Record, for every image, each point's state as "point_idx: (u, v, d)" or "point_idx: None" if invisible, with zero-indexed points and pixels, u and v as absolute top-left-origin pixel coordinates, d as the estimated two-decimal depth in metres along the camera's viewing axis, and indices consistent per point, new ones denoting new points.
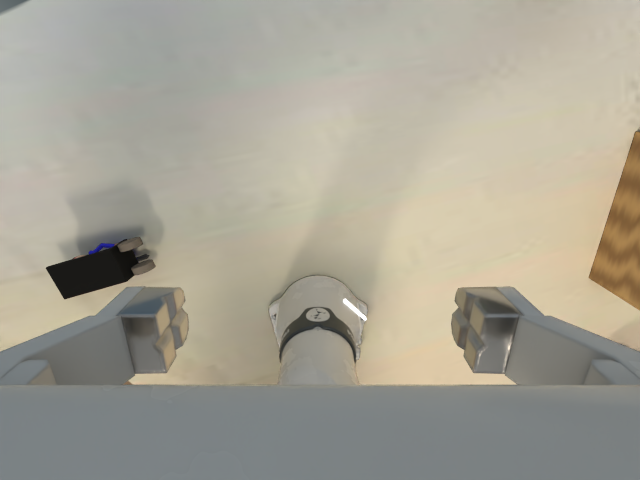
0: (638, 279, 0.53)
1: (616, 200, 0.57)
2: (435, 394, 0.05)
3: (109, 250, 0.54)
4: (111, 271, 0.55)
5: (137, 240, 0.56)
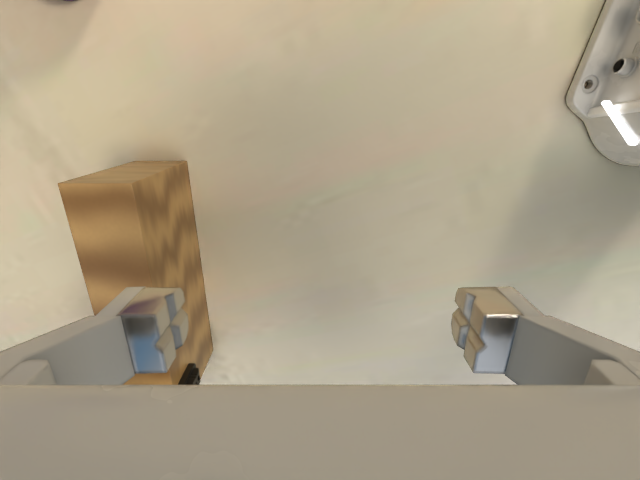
0: (158, 223, 0.31)
1: (202, 281, 0.43)
2: (435, 394, 0.05)
3: None
4: None
5: None
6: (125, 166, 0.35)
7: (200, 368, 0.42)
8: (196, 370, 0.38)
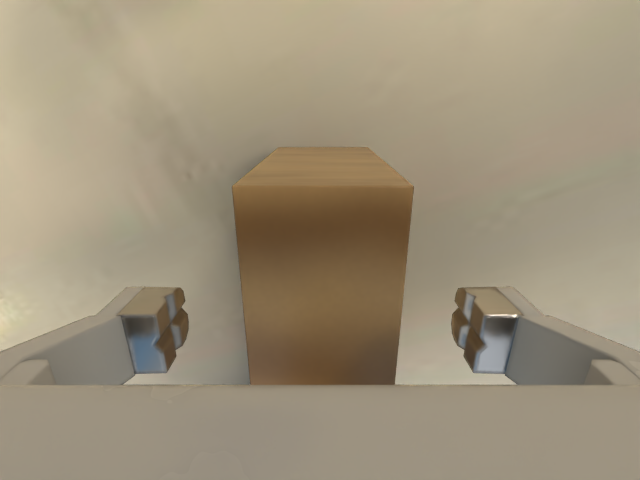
0: None
1: None
2: (435, 394, 0.05)
3: None
4: None
5: None
6: (287, 154, 0.19)
7: None
8: None
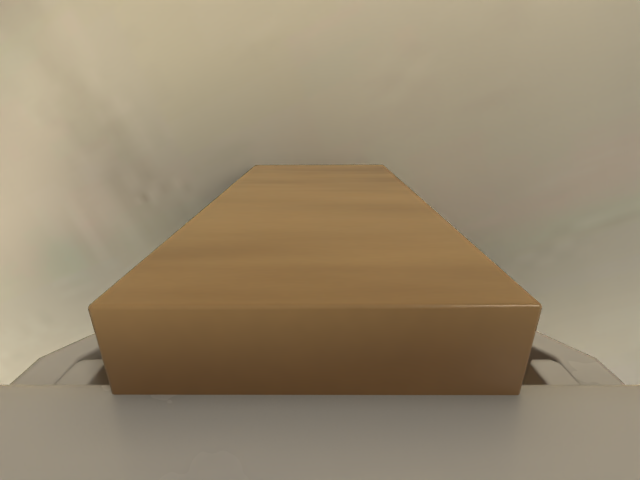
0: None
1: None
2: None
3: None
4: None
5: None
6: (263, 180, 0.12)
7: None
8: None
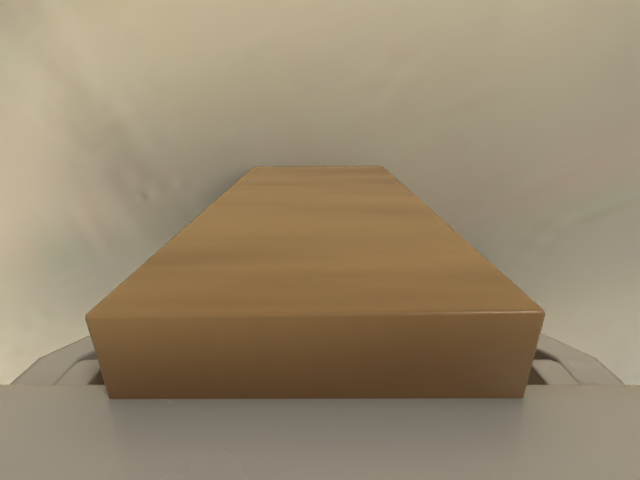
0: None
1: None
2: None
3: None
4: None
5: None
6: (262, 183, 0.12)
7: None
8: None
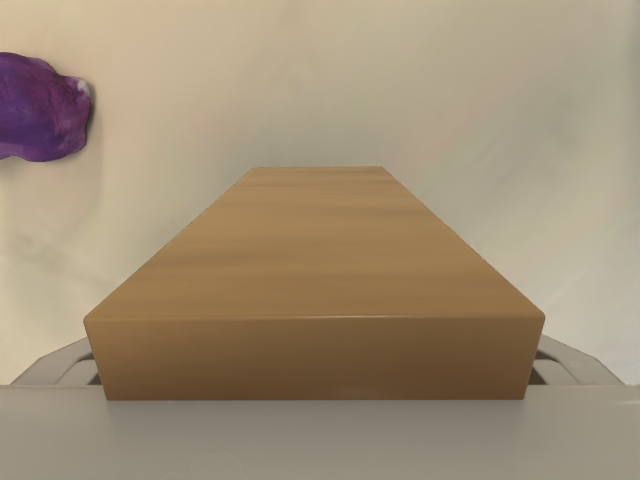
0: None
1: None
2: None
3: None
4: None
5: None
6: (262, 183, 0.12)
7: None
8: None
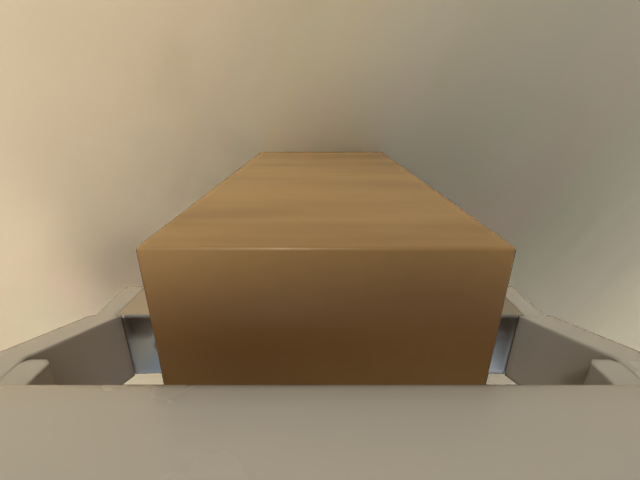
0: None
1: None
2: (435, 394, 0.05)
3: None
4: None
5: None
6: (271, 164, 0.13)
7: None
8: None
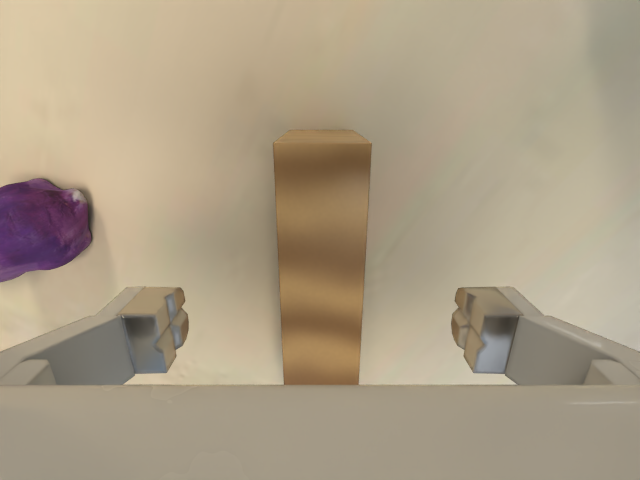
0: None
1: None
2: (435, 394, 0.05)
3: None
4: None
5: None
6: (298, 132, 0.28)
7: None
8: None
